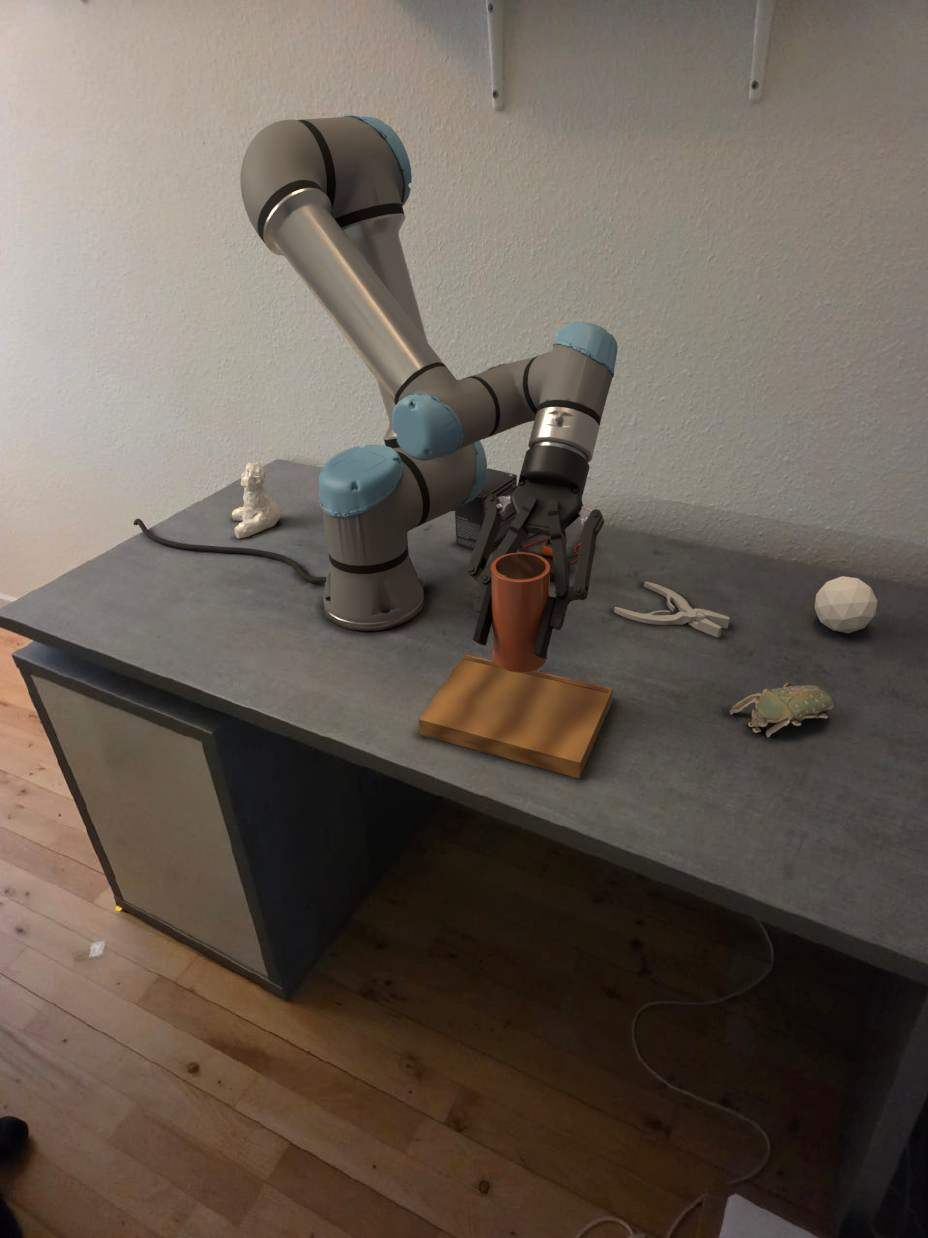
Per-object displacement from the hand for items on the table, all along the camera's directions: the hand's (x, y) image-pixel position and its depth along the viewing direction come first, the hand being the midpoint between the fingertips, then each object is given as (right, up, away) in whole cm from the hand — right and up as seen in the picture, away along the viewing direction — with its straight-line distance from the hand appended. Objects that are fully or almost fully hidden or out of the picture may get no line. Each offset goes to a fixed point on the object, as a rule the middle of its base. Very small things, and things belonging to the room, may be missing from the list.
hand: (509, 648), depth 87 cm
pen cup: (+1, -1, +5) cm, 5 cm away
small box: (-1, +17, +50) cm, 53 cm away
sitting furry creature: (-43, +20, +57) cm, 74 cm away
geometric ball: (+48, +2, +24) cm, 54 cm away
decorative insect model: (+33, -9, +9) cm, 36 cm away
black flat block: (+10, +15, +45) cm, 48 cm away
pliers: (+26, +4, +28) cm, 38 cm away
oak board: (+2, -9, +10) cm, 14 cm away
